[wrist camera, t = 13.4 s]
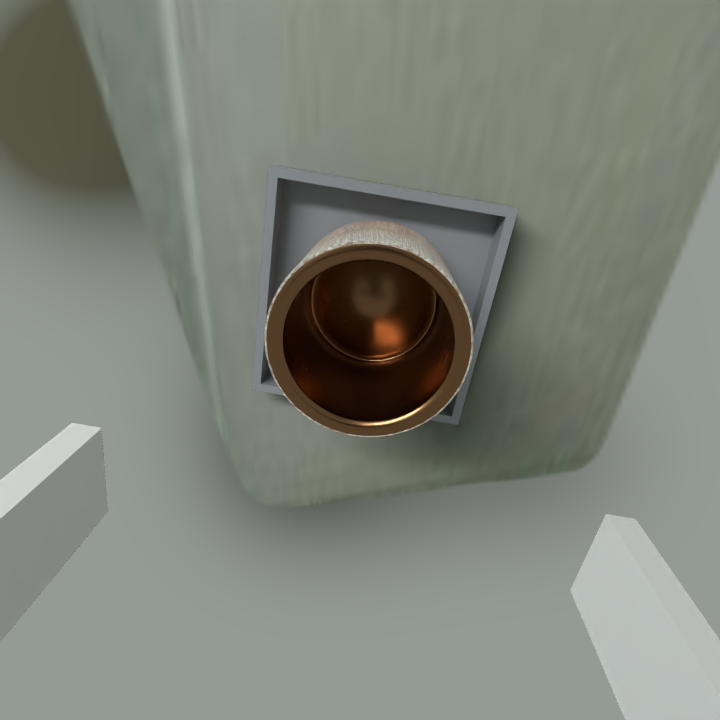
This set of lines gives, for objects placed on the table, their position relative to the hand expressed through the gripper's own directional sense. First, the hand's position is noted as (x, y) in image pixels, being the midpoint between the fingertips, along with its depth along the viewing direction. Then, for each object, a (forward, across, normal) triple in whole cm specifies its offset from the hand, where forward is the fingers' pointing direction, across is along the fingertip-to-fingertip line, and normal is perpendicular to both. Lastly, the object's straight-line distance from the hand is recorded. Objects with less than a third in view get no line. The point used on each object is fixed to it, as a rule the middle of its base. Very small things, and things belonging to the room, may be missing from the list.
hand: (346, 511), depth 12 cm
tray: (+22, 0, 0) cm, 22 cm away
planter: (+22, 0, 0) cm, 22 cm away
